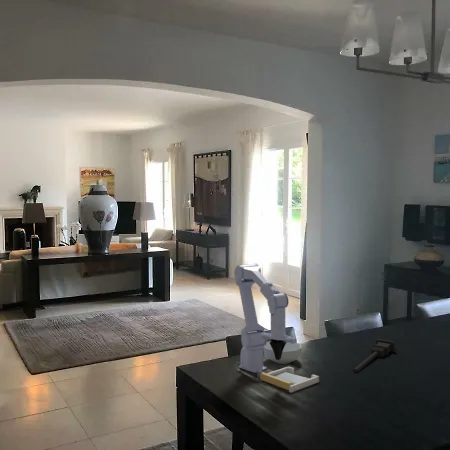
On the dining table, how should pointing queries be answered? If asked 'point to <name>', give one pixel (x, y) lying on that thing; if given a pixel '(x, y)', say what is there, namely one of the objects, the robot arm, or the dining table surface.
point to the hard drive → (291, 377)
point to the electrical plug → (377, 352)
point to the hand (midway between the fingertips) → (278, 359)
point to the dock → (296, 386)
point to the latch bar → (273, 380)
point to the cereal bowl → (283, 353)
